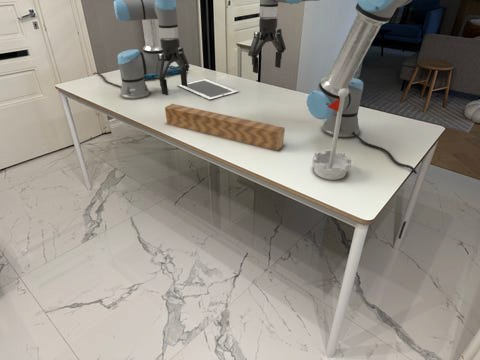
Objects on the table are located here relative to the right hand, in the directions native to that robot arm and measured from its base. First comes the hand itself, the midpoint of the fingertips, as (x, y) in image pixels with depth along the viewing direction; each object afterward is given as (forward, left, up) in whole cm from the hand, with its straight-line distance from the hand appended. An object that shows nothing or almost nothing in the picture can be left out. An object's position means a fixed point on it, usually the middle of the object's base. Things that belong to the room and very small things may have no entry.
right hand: (266, 69), depth 152 cm
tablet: (+50, +11, -22) cm, 56 cm away
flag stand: (-55, +4, -22) cm, 59 cm away
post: (-9, +27, -22) cm, 36 cm away
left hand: (+10, +40, -6) cm, 42 cm away
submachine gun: (+94, +27, -22) cm, 101 cm away
